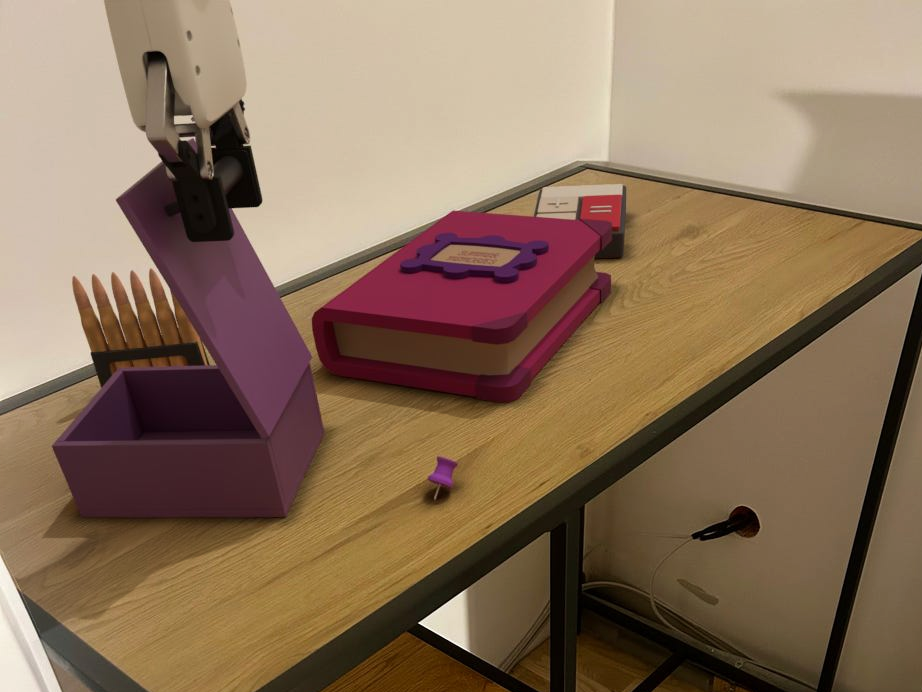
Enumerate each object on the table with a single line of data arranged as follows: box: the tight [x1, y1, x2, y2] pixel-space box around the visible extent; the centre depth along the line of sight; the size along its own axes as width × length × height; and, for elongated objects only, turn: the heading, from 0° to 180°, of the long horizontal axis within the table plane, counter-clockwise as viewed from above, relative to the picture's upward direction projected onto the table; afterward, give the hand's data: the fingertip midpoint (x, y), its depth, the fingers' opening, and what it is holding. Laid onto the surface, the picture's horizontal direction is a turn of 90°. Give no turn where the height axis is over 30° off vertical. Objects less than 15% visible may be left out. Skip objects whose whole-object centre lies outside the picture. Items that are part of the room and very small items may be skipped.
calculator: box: [533, 183, 627, 260], centre depth 116 cm, size 11×4×15 cm
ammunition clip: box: [71, 268, 211, 389], centre depth 90 cm, size 11×2×12 cm, turn 93°
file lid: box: [115, 137, 313, 439], centre depth 70 cm, size 18×13×5 cm
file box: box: [51, 362, 326, 519], centre depth 80 cm, size 17×13×7 cm
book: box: [311, 210, 612, 403], centre depth 97 cm, size 21×28×8 cm
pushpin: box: [427, 455, 459, 501], centre depth 76 cm, size 2×3×3 cm
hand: (226, 220), depth 67 cm, fingers closed on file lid, 6 cm apart
